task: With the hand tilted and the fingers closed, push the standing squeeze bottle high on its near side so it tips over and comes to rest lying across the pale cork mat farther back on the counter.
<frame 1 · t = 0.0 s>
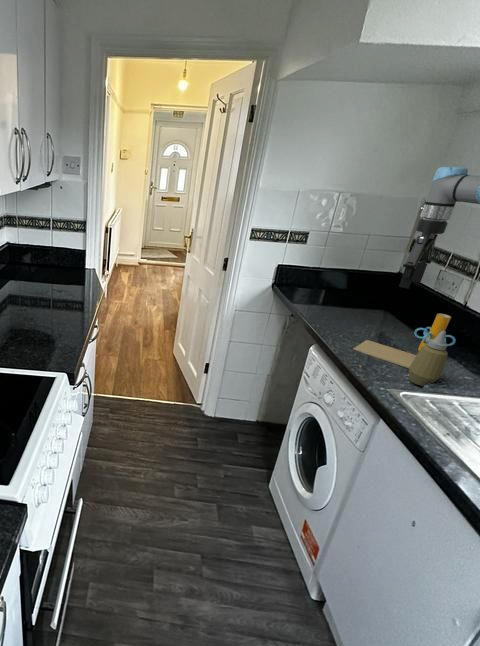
hand: (409, 284, 139), 27 cm above the counter, tool pointing down, fingers open, 13 cm apart
squeeze bottle: (419, 382, 132), on the counter
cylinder: (426, 353, 154), on the counter
cork mat: (386, 354, 151), on the counter
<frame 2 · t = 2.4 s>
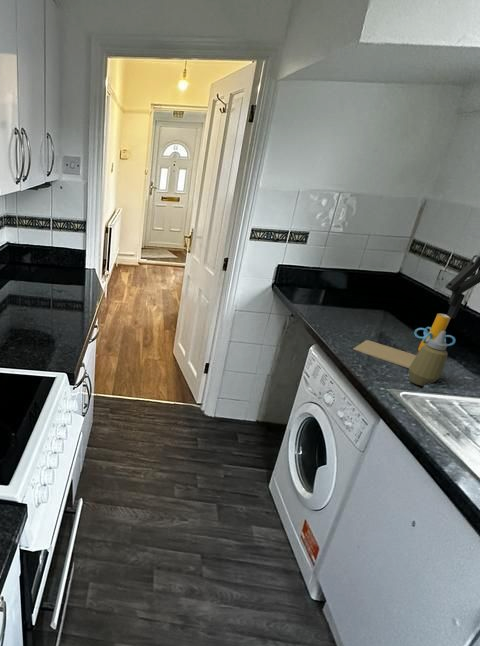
nothing on the counter moved.
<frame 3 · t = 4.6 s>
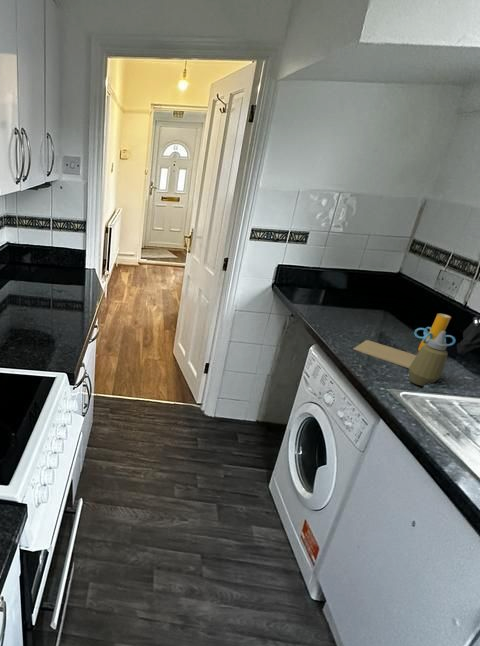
hand: (460, 349, 115), 17 cm above the counter, tool tilted 45°, fingers closed
nothing on the counter moved.
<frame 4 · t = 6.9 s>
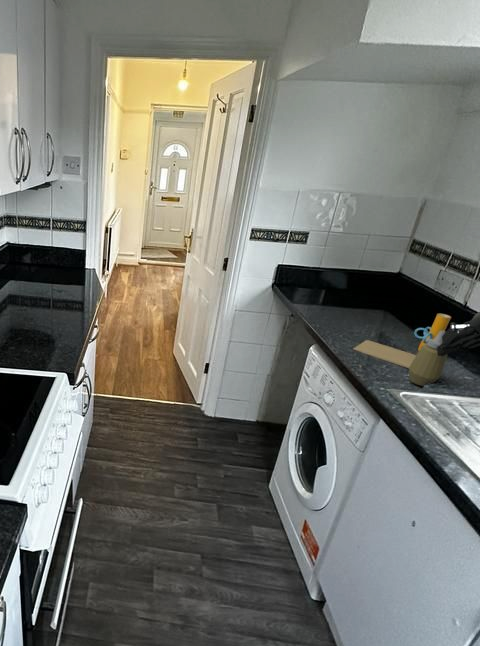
hand: (440, 351, 124), 13 cm above the counter, tool tilted 45°, fingers closed
squeeze bottle: (419, 382, 132), on the counter, touching gripper
everything else where it was.
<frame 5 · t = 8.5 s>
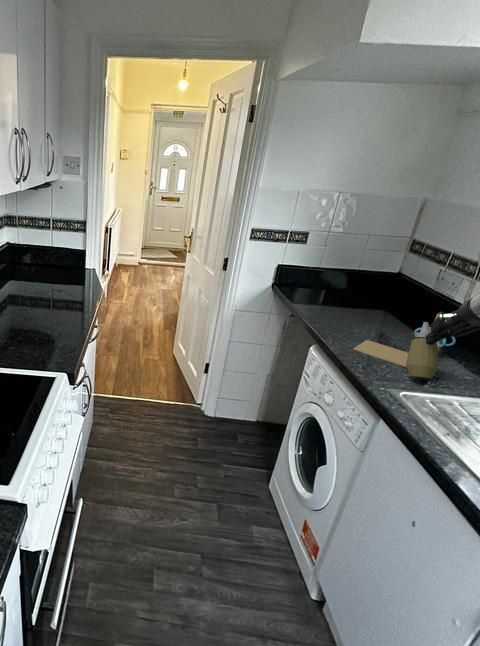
hand: (429, 340, 129), 14 cm above the counter, tool tilted 45°, fingers closed
squeeze bottle: (420, 378, 132), point 1 cm above the counter, touching gripper
everything else where it was.
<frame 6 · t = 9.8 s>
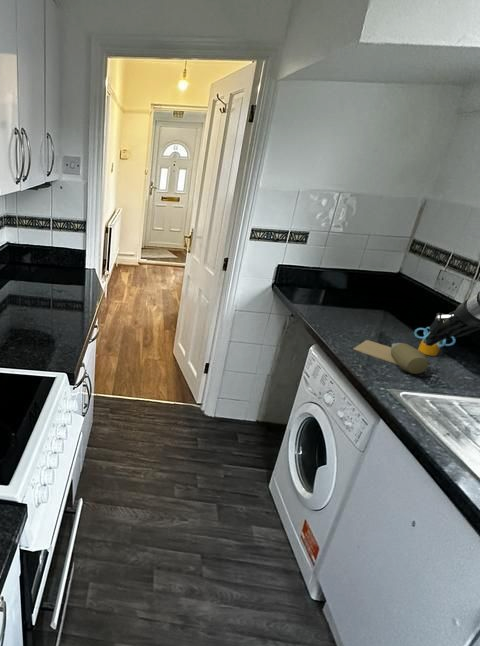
hand: (428, 341, 130), 13 cm above the counter, tool tilted 45°, fingers closed
squeeze bottle: (418, 366, 134), point 4 cm above the counter, touching cork mat
everything else where it was.
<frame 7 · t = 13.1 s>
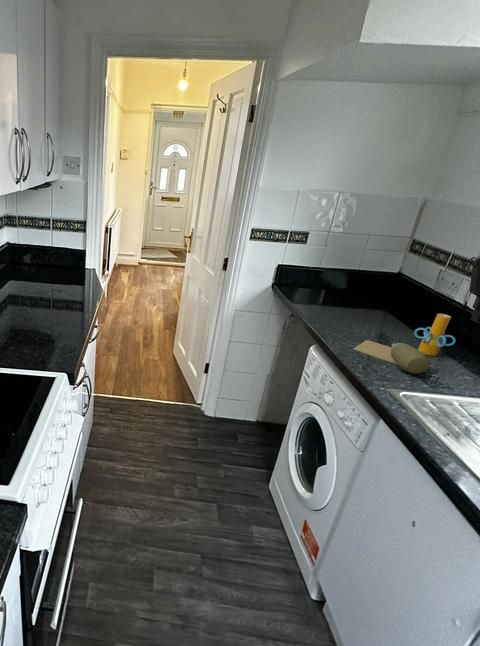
hand: (476, 321, 110), 26 cm above the counter, tool pointing down, fingers closed
nothing on the counter moved.
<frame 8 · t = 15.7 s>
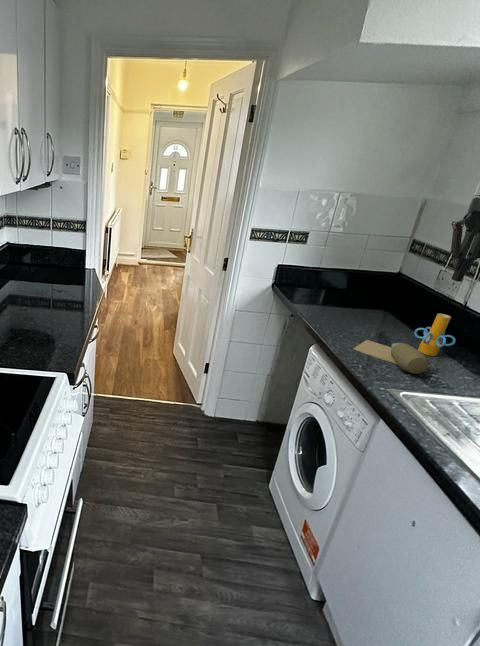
hand: (456, 280, 124), 32 cm above the counter, tool pointing down, fingers closed
nothing on the counter moved.
at the end: squeeze bottle tilted 93°; squeeze bottle touching cork mat, counter; the gripper is holding nothing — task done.
